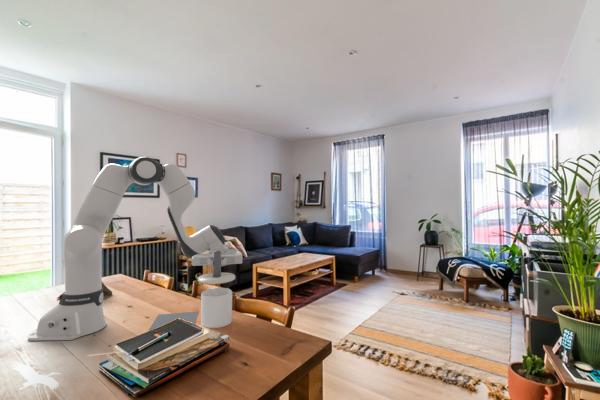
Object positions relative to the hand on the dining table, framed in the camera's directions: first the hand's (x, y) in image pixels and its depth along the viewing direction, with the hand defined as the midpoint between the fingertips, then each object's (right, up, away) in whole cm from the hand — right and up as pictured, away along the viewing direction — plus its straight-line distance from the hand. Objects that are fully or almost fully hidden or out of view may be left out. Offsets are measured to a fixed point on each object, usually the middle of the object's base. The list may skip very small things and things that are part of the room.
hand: (216, 262), depth 116 cm
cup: (0, -24, +1) cm, 24 cm away
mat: (-17, -24, +2) cm, 29 cm away
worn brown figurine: (-67, -24, +31) cm, 78 cm away
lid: (0, -7, +1) cm, 7 cm away
